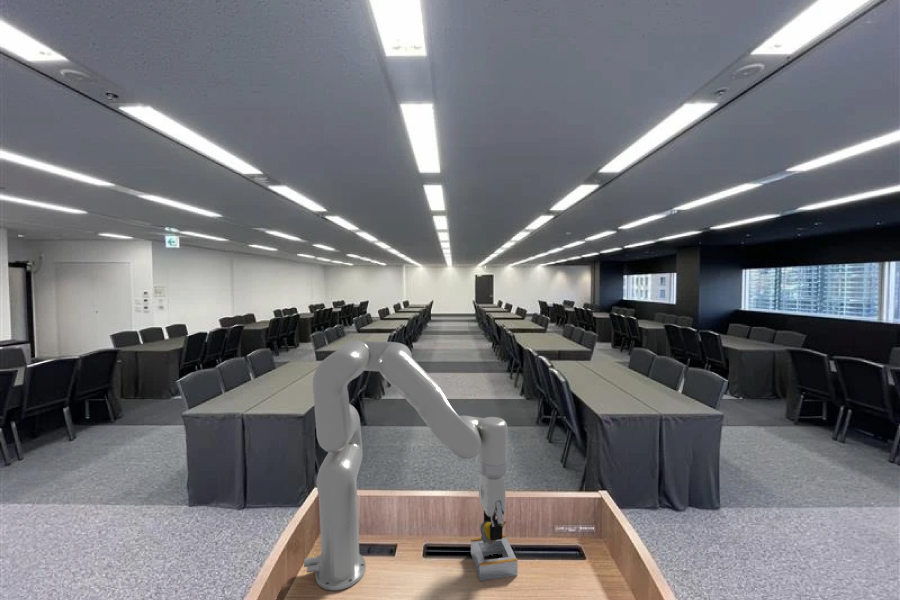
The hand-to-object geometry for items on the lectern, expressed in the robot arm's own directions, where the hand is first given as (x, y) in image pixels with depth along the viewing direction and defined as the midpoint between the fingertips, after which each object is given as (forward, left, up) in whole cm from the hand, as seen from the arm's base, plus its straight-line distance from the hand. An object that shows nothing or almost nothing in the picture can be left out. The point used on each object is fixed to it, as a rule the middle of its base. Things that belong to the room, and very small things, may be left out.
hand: (492, 530), depth 104 cm
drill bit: (0, 0, -3) cm, 3 cm away
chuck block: (0, 0, -9) cm, 9 cm away
